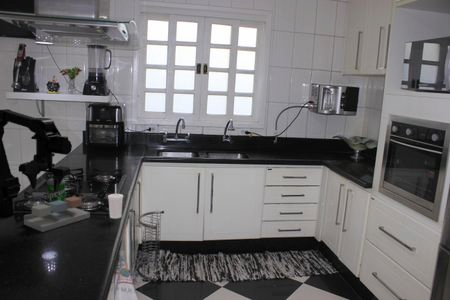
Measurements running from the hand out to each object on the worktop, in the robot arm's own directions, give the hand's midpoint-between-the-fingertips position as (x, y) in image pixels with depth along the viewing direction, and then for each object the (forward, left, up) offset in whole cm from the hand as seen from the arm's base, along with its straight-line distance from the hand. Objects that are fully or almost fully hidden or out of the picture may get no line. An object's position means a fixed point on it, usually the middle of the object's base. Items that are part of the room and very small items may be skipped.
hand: (44, 190), depth 156 cm
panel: (+3, +3, -12) cm, 13 cm away
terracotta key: (+3, +10, -8) cm, 13 cm away
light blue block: (+3, +3, -8) cm, 9 cm away
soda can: (-14, +14, -13) cm, 23 cm away
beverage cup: (+16, +21, -13) cm, 30 cm away
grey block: (+3, -4, -8) cm, 9 cm away
